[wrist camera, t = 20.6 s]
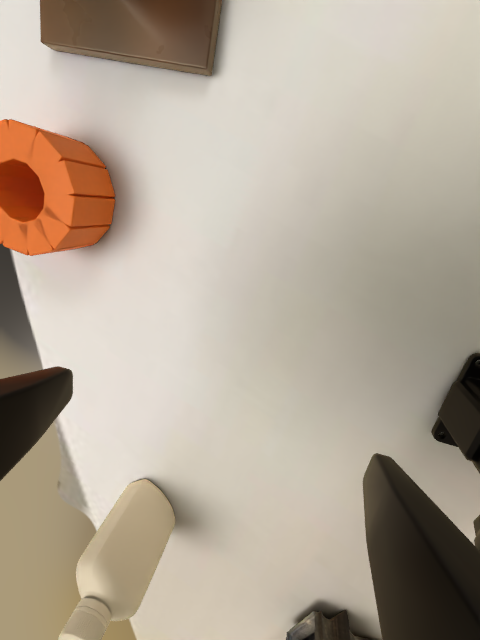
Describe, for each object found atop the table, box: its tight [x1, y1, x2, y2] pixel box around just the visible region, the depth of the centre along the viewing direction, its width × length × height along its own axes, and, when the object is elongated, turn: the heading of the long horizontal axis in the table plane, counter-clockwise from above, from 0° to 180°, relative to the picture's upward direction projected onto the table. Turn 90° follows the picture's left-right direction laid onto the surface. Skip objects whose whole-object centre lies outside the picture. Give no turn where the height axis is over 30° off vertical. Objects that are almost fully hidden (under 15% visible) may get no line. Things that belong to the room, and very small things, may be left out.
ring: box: [0, 119, 115, 256], centre depth 20 cm, size 7×7×4 cm
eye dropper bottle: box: [58, 479, 175, 640], centre depth 24 cm, size 4×6×12 cm
